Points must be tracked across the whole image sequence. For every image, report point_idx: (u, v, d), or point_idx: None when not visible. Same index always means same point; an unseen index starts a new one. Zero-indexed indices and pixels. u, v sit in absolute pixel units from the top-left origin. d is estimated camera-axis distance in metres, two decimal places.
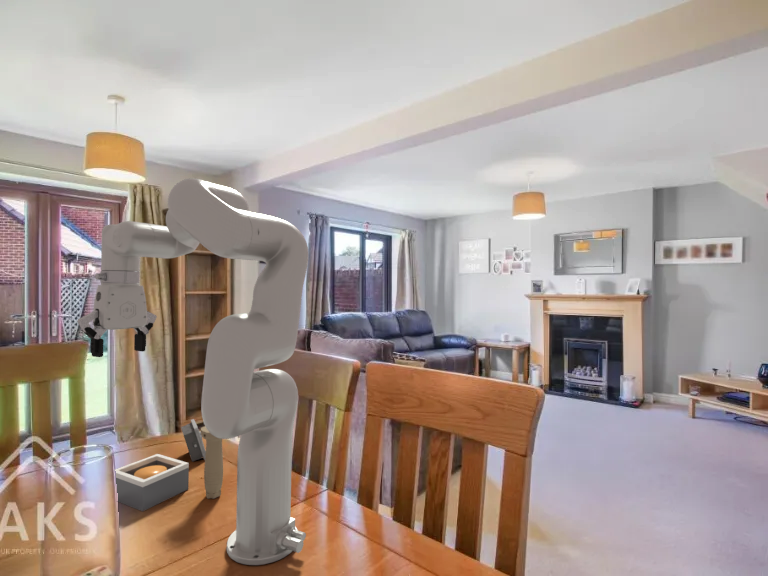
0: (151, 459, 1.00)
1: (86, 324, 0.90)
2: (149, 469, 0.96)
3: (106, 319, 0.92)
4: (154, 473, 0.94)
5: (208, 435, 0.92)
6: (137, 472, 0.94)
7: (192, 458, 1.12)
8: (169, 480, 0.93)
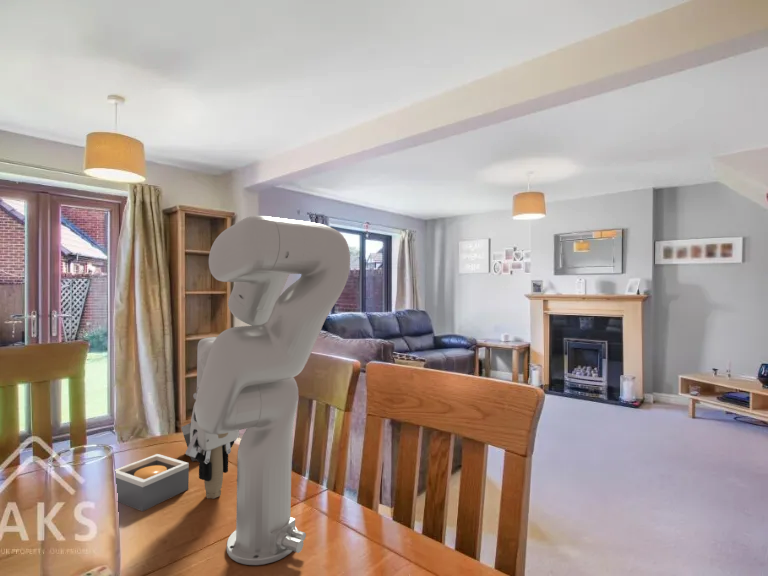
0: (151, 459, 1.00)
1: (195, 453, 0.89)
2: (149, 469, 0.96)
3: (205, 441, 0.89)
4: (154, 473, 0.94)
5: None
6: (137, 472, 0.94)
7: (192, 458, 1.12)
8: (169, 480, 0.93)
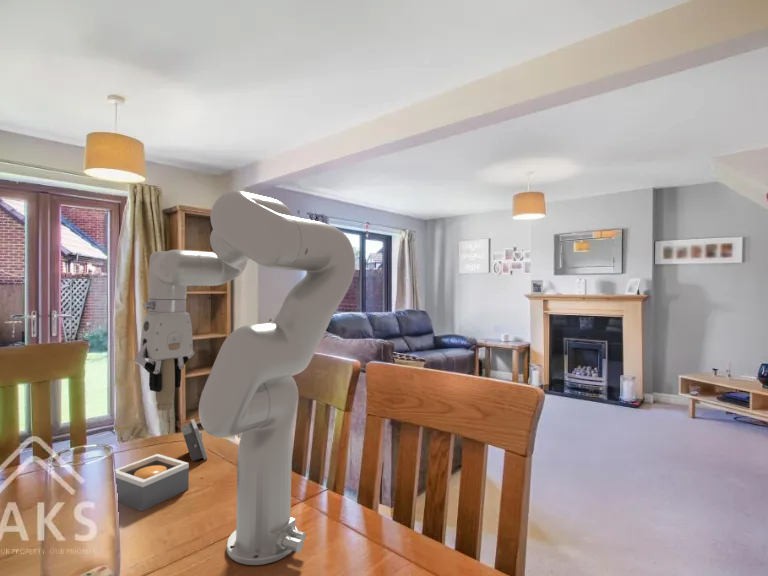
0: (151, 459, 1.00)
1: (143, 362, 0.90)
2: (149, 469, 0.96)
3: (154, 350, 0.89)
4: (154, 473, 0.94)
5: None
6: (137, 472, 0.94)
7: (192, 458, 1.12)
8: (169, 480, 0.93)
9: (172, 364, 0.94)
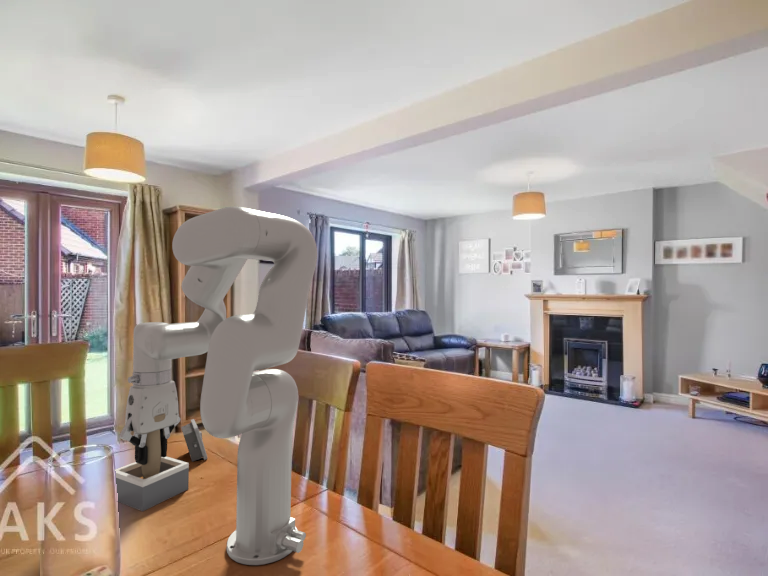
0: None
1: (129, 437, 0.90)
2: None
3: (139, 424, 0.89)
4: None
5: None
6: None
7: (192, 458, 1.12)
8: (169, 480, 0.93)
9: (158, 435, 0.94)
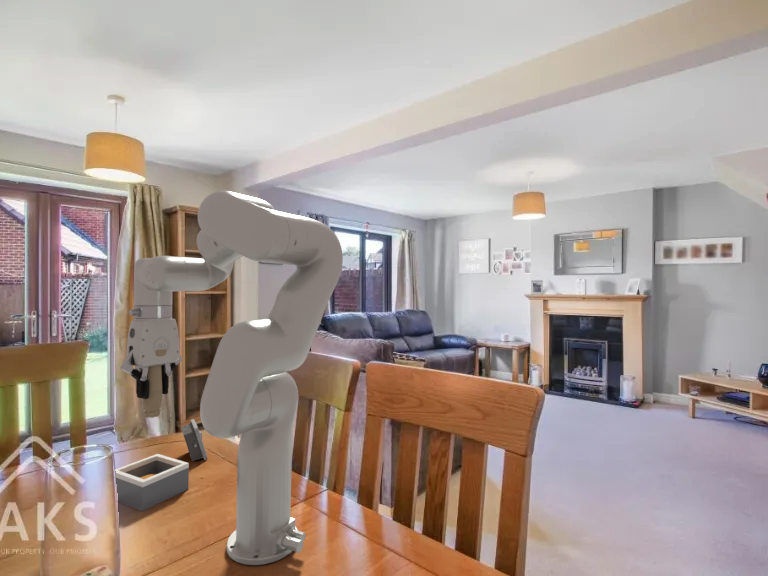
0: (151, 459, 1.00)
1: (130, 369, 0.89)
2: None
3: (141, 356, 0.89)
4: None
5: None
6: None
7: (192, 458, 1.12)
8: (169, 480, 0.93)
9: (159, 371, 0.94)
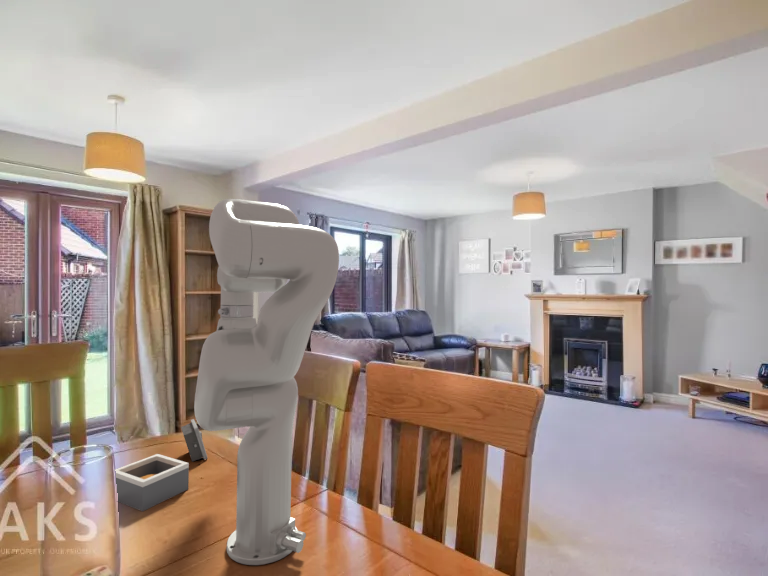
0: (151, 459, 1.00)
1: None
2: None
3: None
4: None
5: None
6: None
7: (192, 458, 1.12)
8: (169, 480, 0.93)
9: None
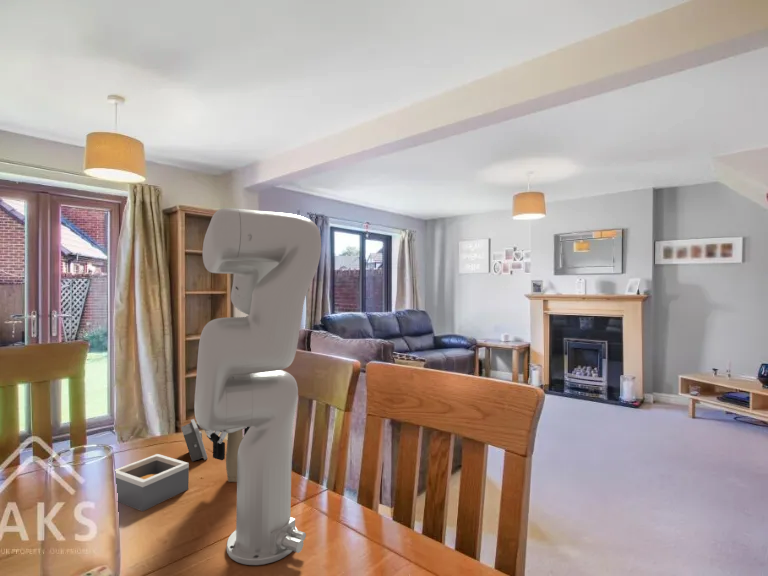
0: (151, 459, 1.00)
1: (211, 431, 0.95)
2: None
3: None
4: None
5: None
6: None
7: (192, 458, 1.12)
8: (169, 480, 0.93)
9: (241, 438, 1.02)
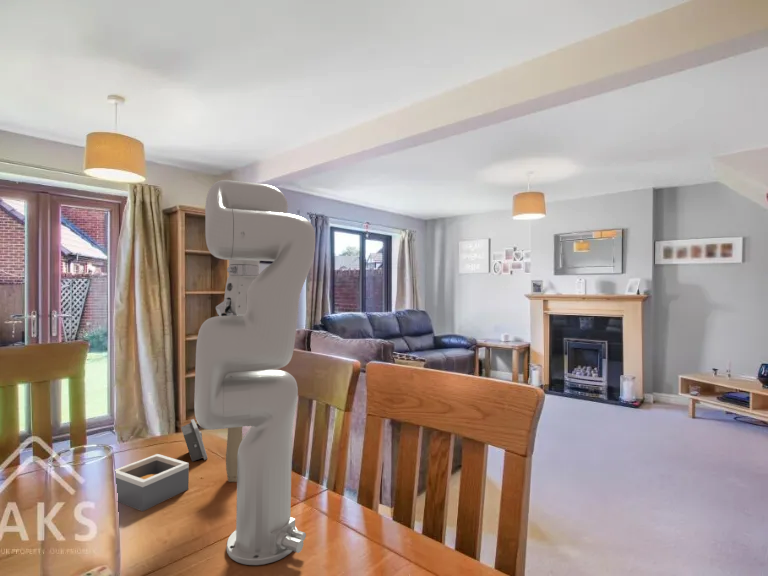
0: (151, 459, 1.00)
1: (222, 311, 1.05)
2: None
3: (237, 306, 1.07)
4: None
5: None
6: None
7: (192, 458, 1.12)
8: (169, 480, 0.93)
9: (241, 438, 1.02)
